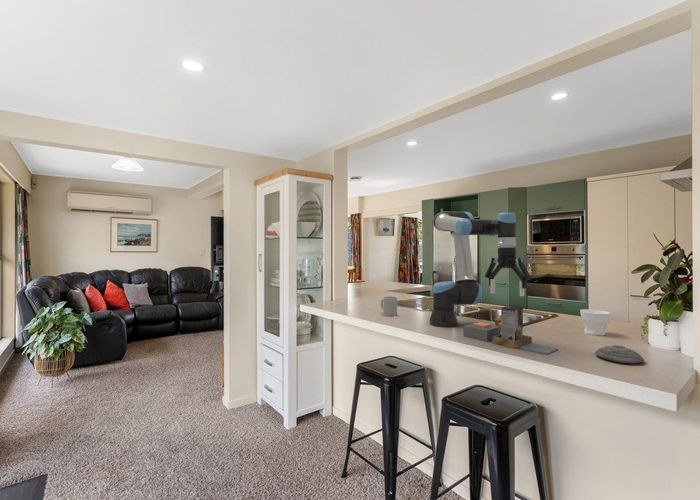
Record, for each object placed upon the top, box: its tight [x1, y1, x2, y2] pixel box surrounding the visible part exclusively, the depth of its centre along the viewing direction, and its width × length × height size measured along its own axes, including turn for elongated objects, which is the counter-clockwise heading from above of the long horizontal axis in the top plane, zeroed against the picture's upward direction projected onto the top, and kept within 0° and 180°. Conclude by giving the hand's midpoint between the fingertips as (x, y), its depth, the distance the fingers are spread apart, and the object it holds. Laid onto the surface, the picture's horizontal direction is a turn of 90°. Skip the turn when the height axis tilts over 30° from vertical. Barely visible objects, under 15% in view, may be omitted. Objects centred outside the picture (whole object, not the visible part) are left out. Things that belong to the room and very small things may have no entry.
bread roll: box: [494, 314, 501, 327], centre depth 189 cm, size 13×10×8 cm
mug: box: [380, 296, 398, 317], centre depth 224 cm, size 12×8×11 cm
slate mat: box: [518, 342, 559, 356], centre depth 150 cm, size 11×11×1 cm
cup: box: [579, 308, 611, 336], centre depth 178 cm, size 12×12×11 cm
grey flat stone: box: [594, 344, 645, 364], centre depth 138 cm, size 15×15×6 cm
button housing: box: [463, 323, 501, 342], centre depth 170 cm, size 12×12×5 cm
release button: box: [472, 321, 492, 328], centre depth 170 cm, size 6×6×5 cm
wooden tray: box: [491, 334, 533, 350], centre depth 159 cm, size 11×14×3 cm
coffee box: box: [500, 305, 524, 341], centre depth 159 cm, size 9×6×16 cm
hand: (507, 294), depth 160 cm, fingers open, 13 cm apart
